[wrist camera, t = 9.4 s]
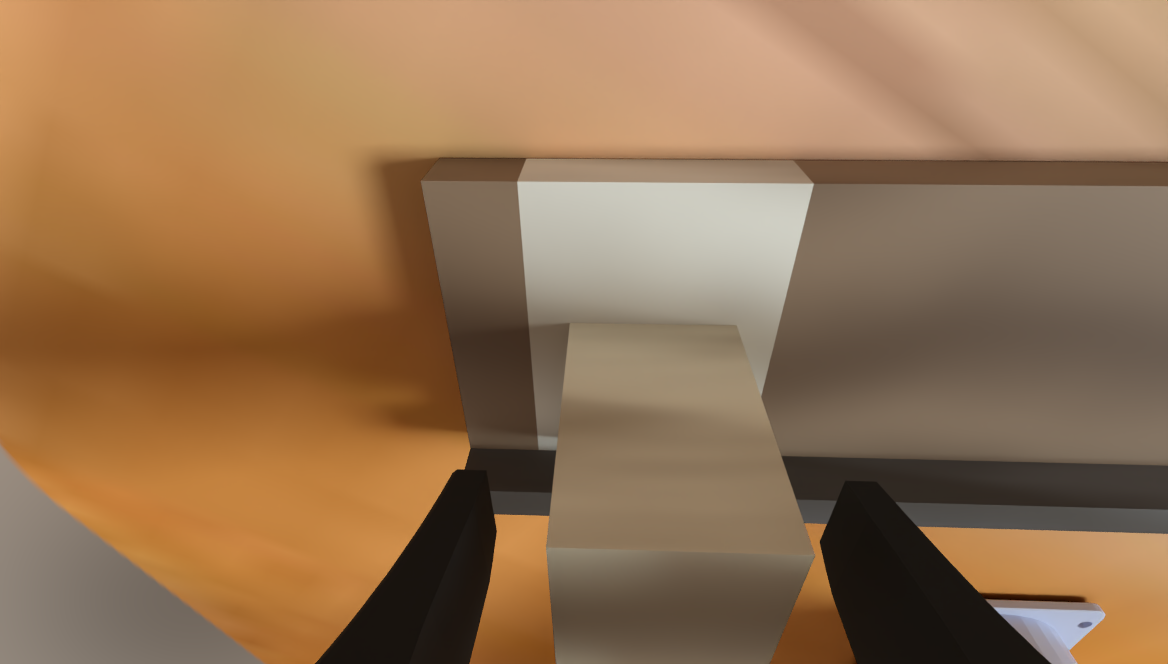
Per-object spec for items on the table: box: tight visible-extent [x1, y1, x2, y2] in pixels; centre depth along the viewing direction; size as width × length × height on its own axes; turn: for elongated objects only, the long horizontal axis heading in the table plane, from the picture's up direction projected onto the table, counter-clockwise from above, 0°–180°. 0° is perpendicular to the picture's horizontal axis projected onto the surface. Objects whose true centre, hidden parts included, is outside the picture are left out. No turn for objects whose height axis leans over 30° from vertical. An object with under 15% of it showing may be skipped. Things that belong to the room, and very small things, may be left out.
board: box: [421, 158, 1168, 534], centre depth 13 cm, size 9×26×3 cm, turn 90°
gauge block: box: [546, 323, 815, 664], centre depth 12 cm, size 4×4×6 cm
